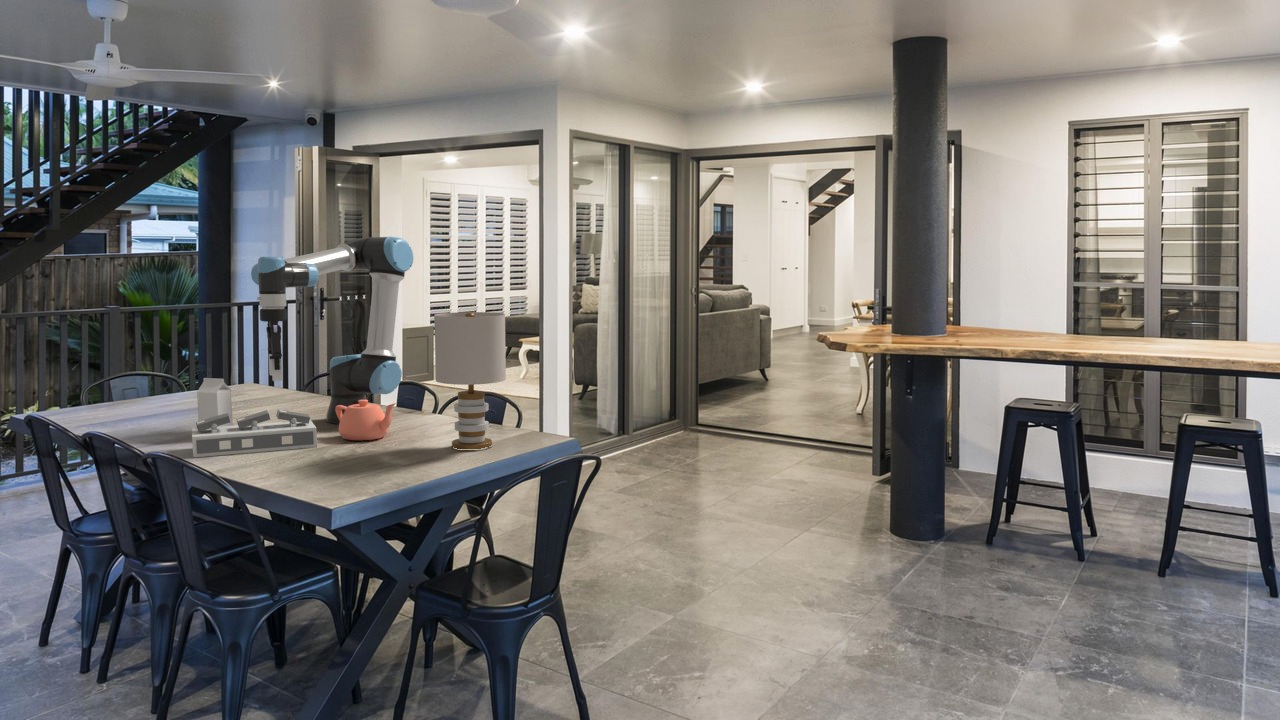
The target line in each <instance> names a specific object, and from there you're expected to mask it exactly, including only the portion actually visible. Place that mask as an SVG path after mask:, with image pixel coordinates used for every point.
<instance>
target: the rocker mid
mask: <svg viewBox="0 0 1280 720" xmlns="http://www.w3.org/2000/svg"><path fill="white" fill-rule="evenodd" d="M270 420H271V417H270V414H269V411H268V410H267V409H266V410H262V411H260V412H256V413H253V414H249V415H246V416H243V417H240V418H236V423H237V425H238V426H239V429H241V428H244V427H247V426H251V425H253V426H256V425H257V424H262V423H263V422H267V421H270Z"/></svg>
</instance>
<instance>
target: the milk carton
mask: <svg viewBox="0 0 1280 720" xmlns="http://www.w3.org/2000/svg"><path fill="white" fill-rule="evenodd" d="M196 397H197V398H196V399H197V400H196V401H197V413H198V414H197V415H198V417H197V418H198V421H201V420H205V419H208V418H212V417H215V416H218V415H222V414H225V413H228V415H229V418H230V423H227V424H223V425H220V426H217V427H221V426H234V425H233V424H234V422H233V406H232V405H233V403H232V389H231V388H230V387H229V386H228V385H227V384H226V382H225V379H224V378H214V377H213V378H212V377H211V378H210V377H203V381H202V383H201V385H200V387H199V388H198V390H197V391H196Z"/></svg>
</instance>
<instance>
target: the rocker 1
mask: <svg viewBox="0 0 1280 720" xmlns="http://www.w3.org/2000/svg"><path fill="white" fill-rule="evenodd" d="M227 423H230V418H229V415H228V413H225V414H222V415H218V416H215V417H212V418H208V419H205V420H201V421H199V420H198V421H196V422H195V427H196V428H197V429H198V432H200V431H203V430H207V429H210V428H213V429H216V428H217V426H220V425H223V424H227Z"/></svg>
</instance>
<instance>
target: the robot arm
mask: <svg viewBox="0 0 1280 720" xmlns="http://www.w3.org/2000/svg"><path fill="white" fill-rule="evenodd" d="M413 263H414V252H413V249H412V247H411V246H410V243H409V242H408V241H407V240H405V239H404V238H401V237H397V236H396V237H395V236H383V237H382V236H380V237H378V236H377V237H376V236H368V237H362V238H358V239H355V240H351V241H348V242H344V243H340V244H338V245H337V246H336V247H335V248H330V249H326V250H321V251H317V252H311V253H308V254H303V255H297V256H294V257H293V256H292V257H288V258H284V257H283V256H260V257H259V258H258V260H257V263H255V264H254V265H253V266H252V268H251V272H250V276H251V280H252V281H253V283H255V285H258V296H256V297H257V298H256V301H259V307H260V310H259V320H260V321H261V322H264V323H267V326H266V337H267V351H268V370H269V373H268V375H269V376H272V378H271V379H272V382H276V381H277V382H279V381H282V382H283V367H282V366H283V364H282V363H283V361H282V356H283V354H282V353H283V352H282V344H281V343H282V342H281V341H282V327H281V326H280V325H279V322H286V321H287V318H288V316H287V309H286V308H285V307H287V294H286V293H287V291H286V290H287V289H286V288H309V287H311V288H312V287H314V286H315V285H316V284H317V283H318V281H319V278H320V276H322V275H325V274H330V273H333V272H339V271H344V272H350V271H369V276H370V277H371V278H372V279H373V280H372V291H371V300H370V301H371V303H370V311H369V321H368V329H367V330H368V331H367V341H366V348H365V349H364V350H363V351H362V352H361V353H359V354H350V355H348V354H347V355H342V356H340V355H339V356H333V357H332V358H331V359H330V362H329V383H330V402H329V406H328V408H327V412H326V422H327V423H331V424H336V425H337V424H338V425H339V424H340V420H339V419H338V417H337V414H336V410H335V408H336V406H337V405H343V406H346V407H348V406H350V405H355V404H359V403H358V400H367V397H366V394H372V395H373V394H374V395H379V396H380V395H388V394H391V393H393V392H395V390H396V389H397V388H398V387H399V385H400V383H401V381H402V376H403V375H402V368H401V366H400V364H399V363H398V362H397V361H396V360H397V355H396V354H395V353H394V352H393V348H394V347H393V346H394V338H395V337H394V336H395V327H396V317H397V316H396V315H397V305H398V297H399V289H400V282H401V281H403V280H404V279H405V273H406V272H407V271H409V270H410V268H412V266H413ZM367 404H369V402H368V403H367ZM344 412H345V410H343V409H342V414H344Z"/></svg>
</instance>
